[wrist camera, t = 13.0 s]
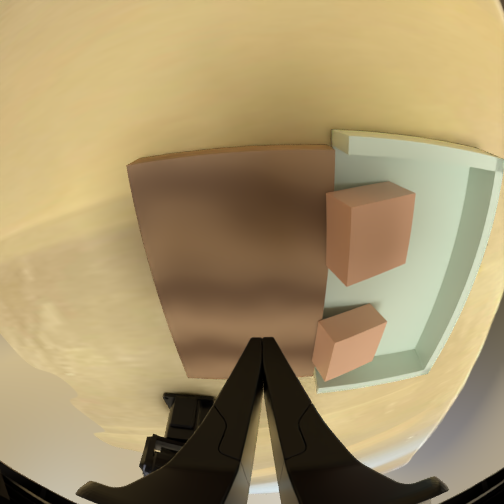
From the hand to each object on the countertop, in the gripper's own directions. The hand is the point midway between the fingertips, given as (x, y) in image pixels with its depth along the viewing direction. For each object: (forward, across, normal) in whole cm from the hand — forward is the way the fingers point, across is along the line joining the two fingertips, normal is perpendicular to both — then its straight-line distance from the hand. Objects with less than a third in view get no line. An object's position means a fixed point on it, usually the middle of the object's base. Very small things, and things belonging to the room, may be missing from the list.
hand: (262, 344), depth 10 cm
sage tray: (+10, -11, +4) cm, 16 cm away
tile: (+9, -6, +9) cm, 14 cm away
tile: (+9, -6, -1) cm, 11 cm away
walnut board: (+10, +2, +4) cm, 11 cm away
